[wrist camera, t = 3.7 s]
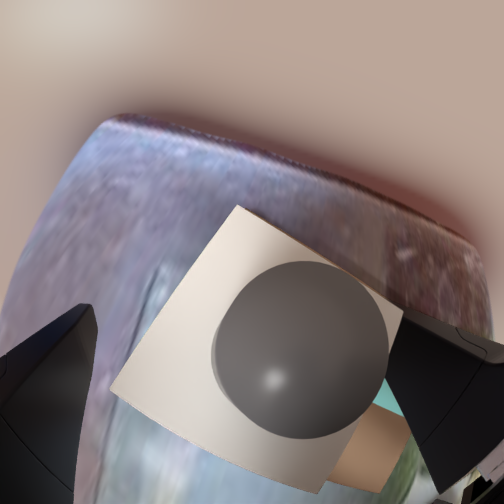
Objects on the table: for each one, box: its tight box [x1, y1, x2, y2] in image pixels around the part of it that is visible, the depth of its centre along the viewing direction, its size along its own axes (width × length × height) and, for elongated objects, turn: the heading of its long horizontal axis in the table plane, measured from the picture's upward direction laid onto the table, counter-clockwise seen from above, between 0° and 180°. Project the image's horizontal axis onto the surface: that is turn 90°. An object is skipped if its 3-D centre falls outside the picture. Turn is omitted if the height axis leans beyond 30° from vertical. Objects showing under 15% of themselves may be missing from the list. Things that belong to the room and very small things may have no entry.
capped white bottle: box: [109, 205, 404, 494], centre depth 9 cm, size 4×4×12 cm
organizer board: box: [245, 208, 411, 493], centre depth 16 cm, size 12×17×1 cm
